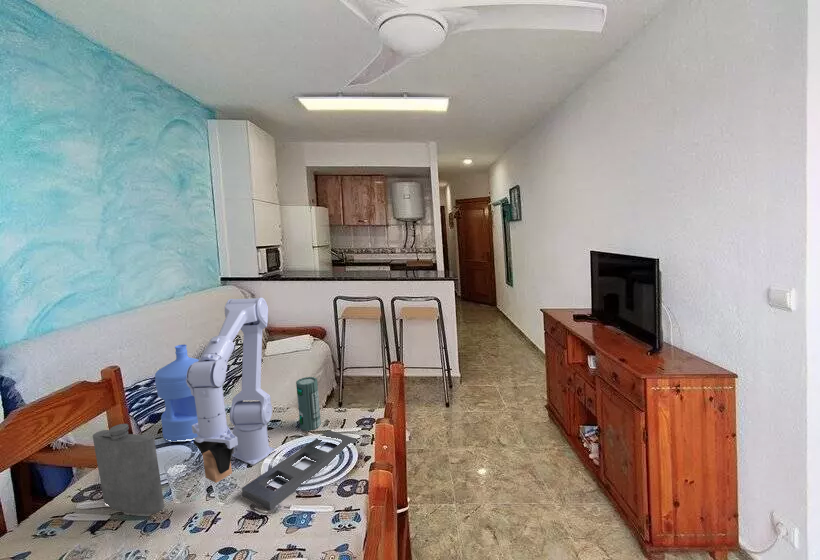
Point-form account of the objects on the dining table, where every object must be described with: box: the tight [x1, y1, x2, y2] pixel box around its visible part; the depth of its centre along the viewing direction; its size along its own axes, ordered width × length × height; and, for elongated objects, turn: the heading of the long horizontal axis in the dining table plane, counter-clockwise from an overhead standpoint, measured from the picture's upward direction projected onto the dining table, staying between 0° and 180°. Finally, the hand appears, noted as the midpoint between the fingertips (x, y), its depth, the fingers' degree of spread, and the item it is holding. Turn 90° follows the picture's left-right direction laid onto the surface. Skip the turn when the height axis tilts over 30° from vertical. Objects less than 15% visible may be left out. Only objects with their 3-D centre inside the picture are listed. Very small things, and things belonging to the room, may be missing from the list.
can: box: [295, 376, 322, 432], centre depth 128 cm, size 6×6×15 cm
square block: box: [202, 450, 233, 484], centre depth 94 cm, size 4×4×6 cm
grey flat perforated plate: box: [241, 429, 356, 511], centre depth 107 cm, size 10×30×2 cm, turn 148°
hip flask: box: [92, 423, 165, 515], centre depth 94 cm, size 16×4×20 cm, turn 76°
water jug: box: [154, 344, 200, 441], centre depth 127 cm, size 16×16×28 cm
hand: (218, 468), depth 94 cm, fingers closed on square block, 4 cm apart
